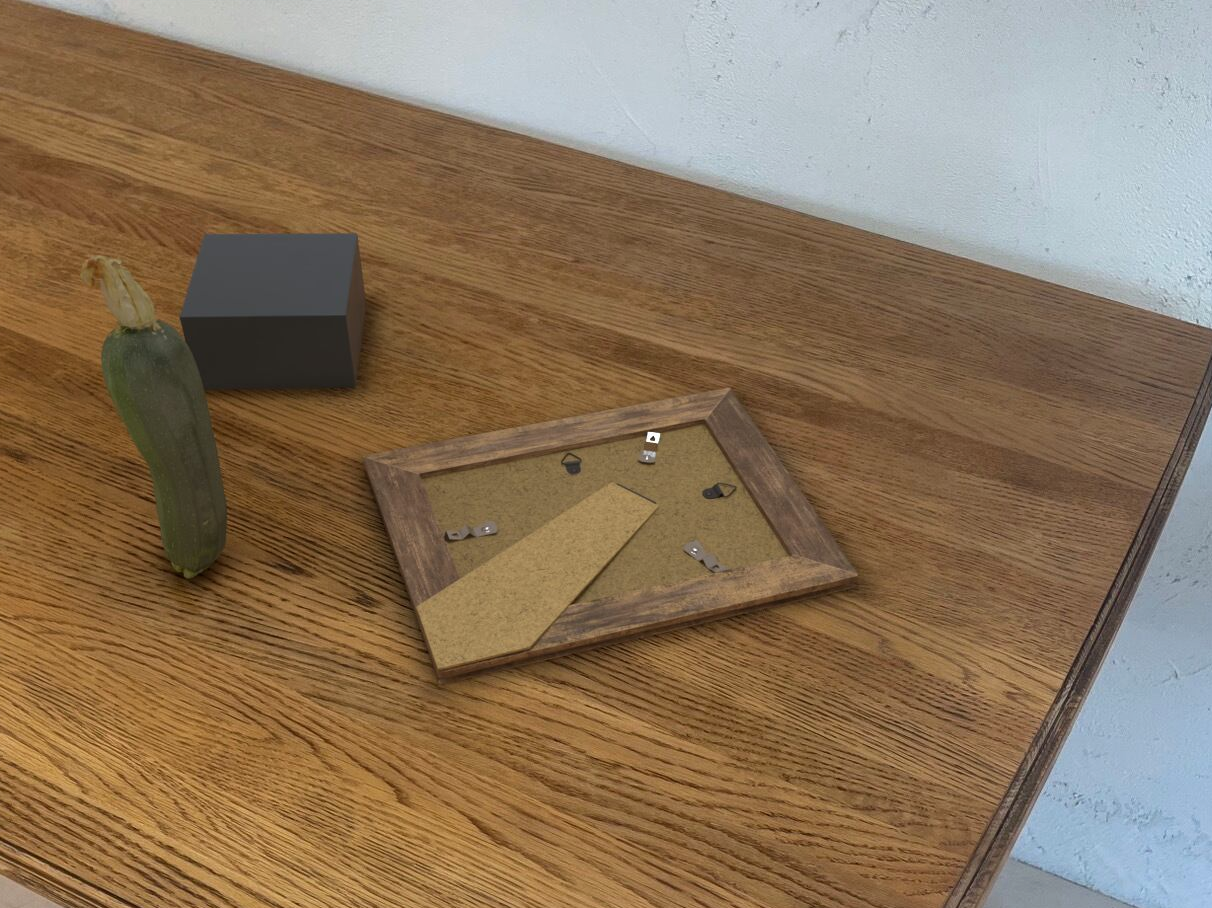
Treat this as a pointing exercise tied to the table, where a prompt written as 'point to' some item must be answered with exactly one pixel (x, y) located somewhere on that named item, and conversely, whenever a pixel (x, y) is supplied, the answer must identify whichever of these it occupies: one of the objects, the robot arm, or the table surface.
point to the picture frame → (597, 531)
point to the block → (276, 311)
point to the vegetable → (163, 418)
